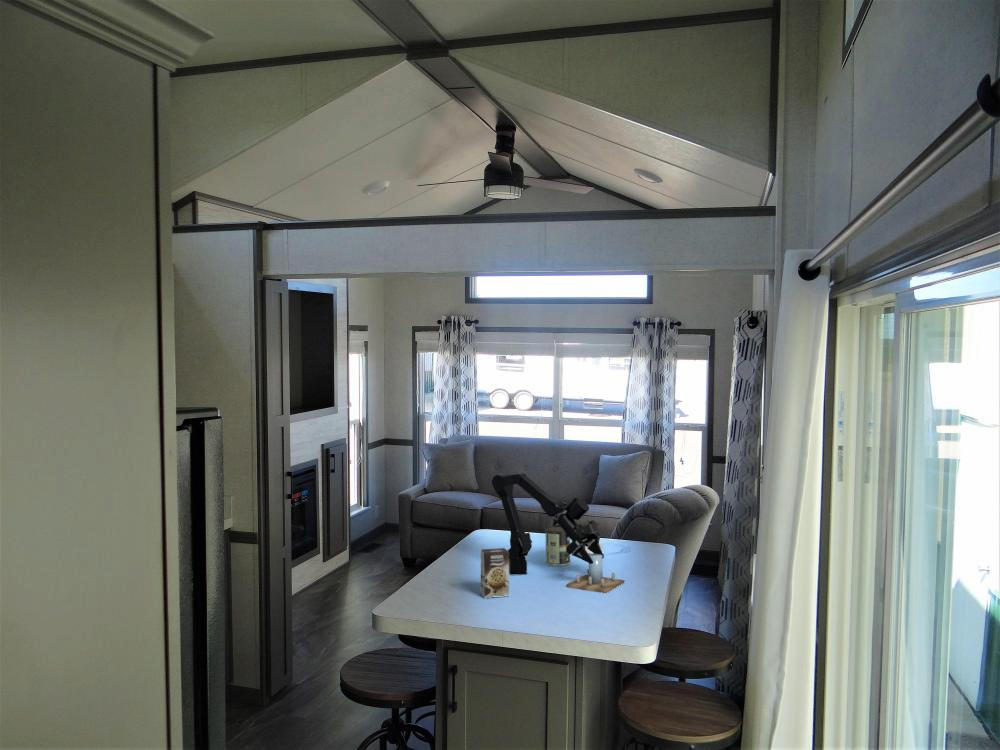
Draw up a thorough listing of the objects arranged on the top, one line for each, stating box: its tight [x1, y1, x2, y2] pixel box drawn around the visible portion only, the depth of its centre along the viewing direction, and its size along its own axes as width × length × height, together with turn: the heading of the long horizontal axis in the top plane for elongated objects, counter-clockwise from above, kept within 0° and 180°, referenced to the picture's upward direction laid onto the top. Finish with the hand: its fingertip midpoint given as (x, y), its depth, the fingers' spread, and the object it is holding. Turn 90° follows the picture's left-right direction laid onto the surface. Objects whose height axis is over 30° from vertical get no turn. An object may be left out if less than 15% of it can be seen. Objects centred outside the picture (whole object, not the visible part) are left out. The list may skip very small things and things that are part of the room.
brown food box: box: [480, 547, 510, 598], centre depth 282 cm, size 9×6×16 cm
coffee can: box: [544, 526, 571, 567], centre depth 328 cm, size 10×10×14 cm
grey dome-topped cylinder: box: [588, 554, 603, 584], centre depth 295 cm, size 5×5×10 cm
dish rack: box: [566, 568, 626, 594], centre depth 295 cm, size 16×16×4 cm
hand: (597, 560), depth 294 cm, fingers open, 9 cm apart
